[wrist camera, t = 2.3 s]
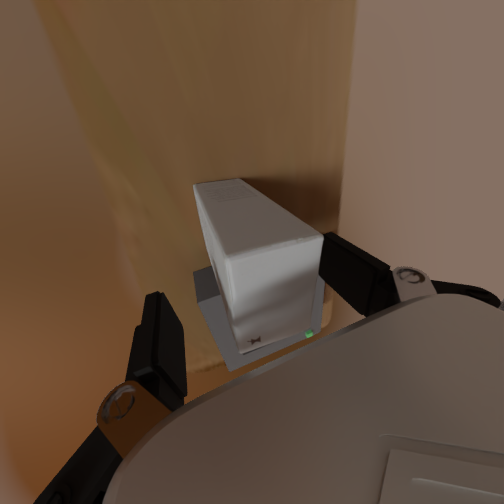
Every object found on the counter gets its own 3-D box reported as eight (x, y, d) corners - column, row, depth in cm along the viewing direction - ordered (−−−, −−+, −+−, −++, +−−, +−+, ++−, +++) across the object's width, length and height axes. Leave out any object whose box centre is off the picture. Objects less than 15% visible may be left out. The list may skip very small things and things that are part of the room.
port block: (193, 272, 20) (197, 306, 17) (302, 236, 23) (329, 258, 19) (222, 340, 28) (230, 375, 24) (302, 308, 30) (322, 334, 26)
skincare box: (246, 236, 20) (311, 331, 11) (205, 244, 19) (237, 359, 10) (241, 174, 17) (329, 234, 7) (191, 181, 16) (219, 260, 6)
